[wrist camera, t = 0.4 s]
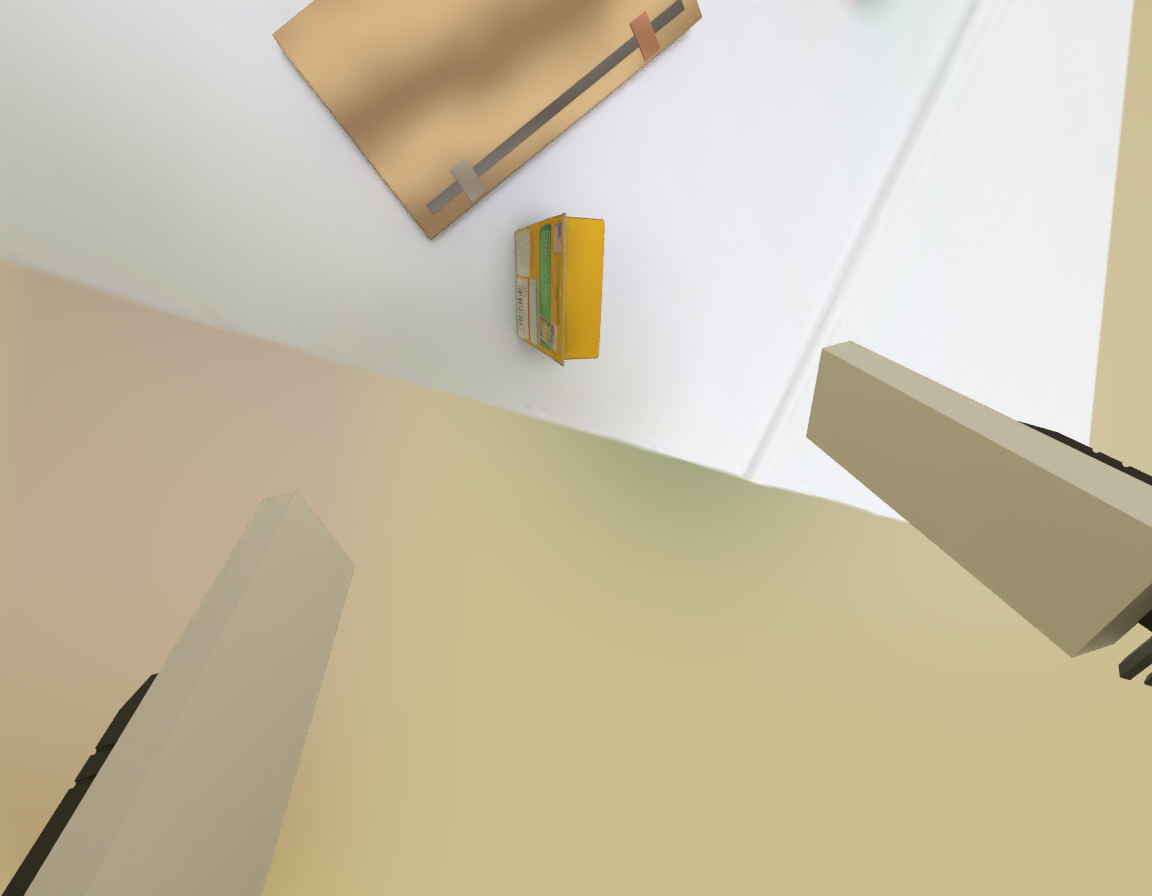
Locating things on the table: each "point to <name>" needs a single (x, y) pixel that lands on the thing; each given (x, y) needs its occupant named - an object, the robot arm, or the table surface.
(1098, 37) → the table surface
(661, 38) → the oak board
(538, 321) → the crayon box
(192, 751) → the robot arm
